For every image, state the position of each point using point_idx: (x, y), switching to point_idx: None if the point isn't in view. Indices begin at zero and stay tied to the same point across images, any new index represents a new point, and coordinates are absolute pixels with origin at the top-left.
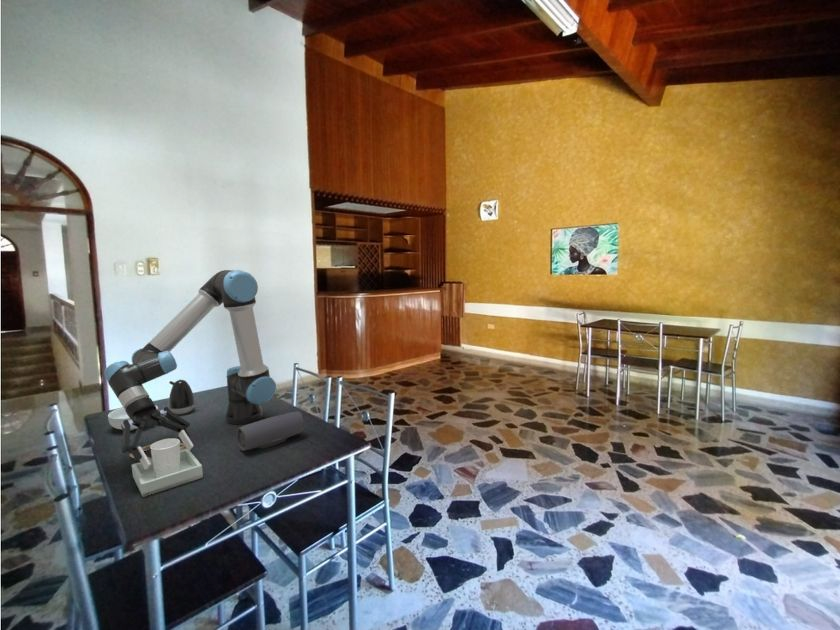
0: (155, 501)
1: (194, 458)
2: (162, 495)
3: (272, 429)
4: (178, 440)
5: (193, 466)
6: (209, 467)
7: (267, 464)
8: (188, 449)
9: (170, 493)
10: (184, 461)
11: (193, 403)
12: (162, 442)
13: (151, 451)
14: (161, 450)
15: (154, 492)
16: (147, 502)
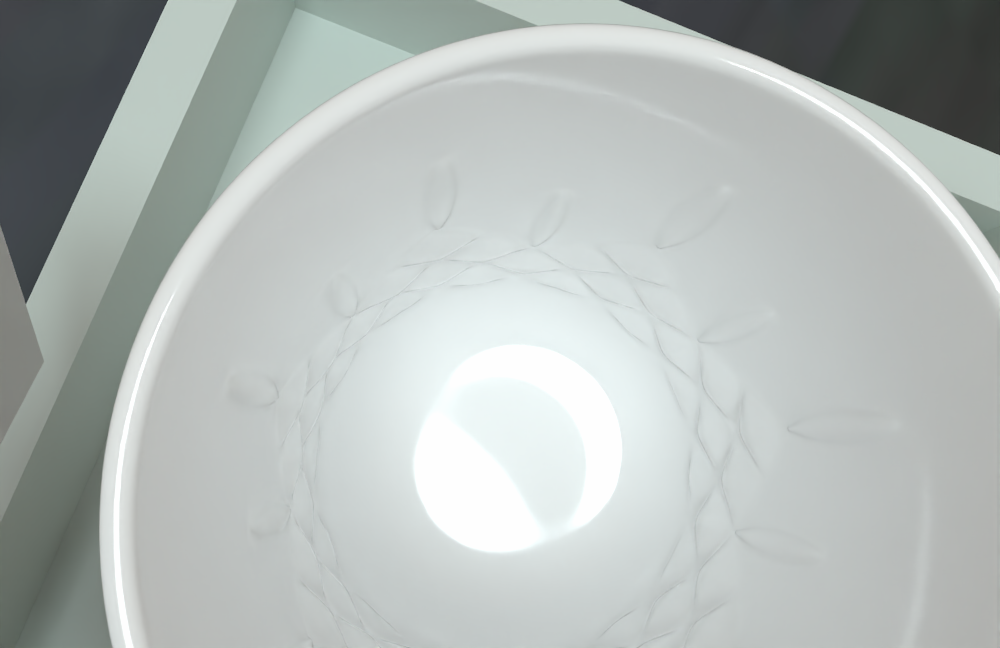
0: (909, 19)
1: (95, 214)
2: (800, 64)
3: None
4: (171, 338)
5: (186, 225)
6: (5, 141)
7: None
8: (29, 340)
9: (727, 16)
10: (78, 624)
11: None
12: None
13: (990, 566)
14: (913, 182)
15: None
16: (965, 84)
